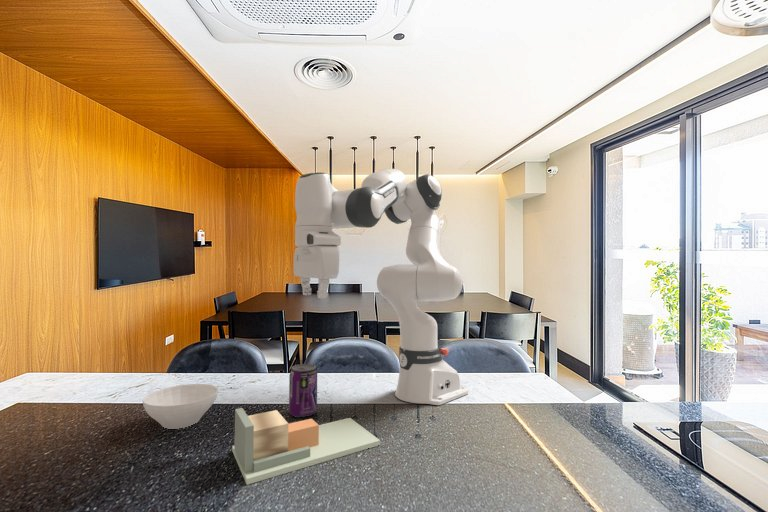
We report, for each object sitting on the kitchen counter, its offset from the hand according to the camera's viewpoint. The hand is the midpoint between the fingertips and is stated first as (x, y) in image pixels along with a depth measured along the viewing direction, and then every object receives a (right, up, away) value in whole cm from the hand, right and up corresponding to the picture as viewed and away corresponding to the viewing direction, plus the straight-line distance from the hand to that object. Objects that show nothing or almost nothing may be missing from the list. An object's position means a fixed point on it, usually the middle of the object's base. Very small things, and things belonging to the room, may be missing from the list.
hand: (314, 296), depth 87 cm
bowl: (-32, -31, +1) cm, 45 cm away
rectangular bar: (-3, -29, -14) cm, 32 cm away
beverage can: (-4, -31, +6) cm, 32 cm away
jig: (+1, -30, -12) cm, 32 cm away
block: (-6, -29, -16) cm, 34 cm away
